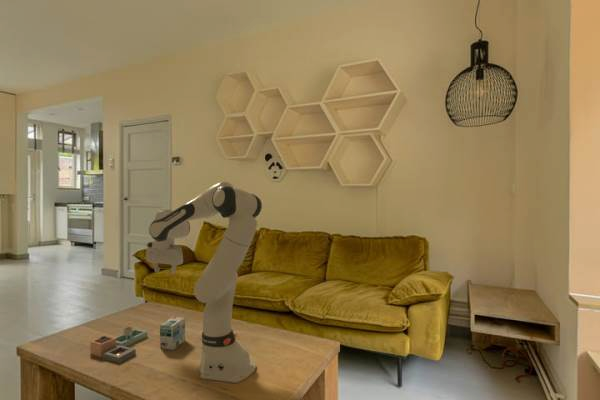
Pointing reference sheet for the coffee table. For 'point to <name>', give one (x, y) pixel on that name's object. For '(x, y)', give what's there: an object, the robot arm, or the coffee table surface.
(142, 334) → the trough
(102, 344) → the open cubby frame
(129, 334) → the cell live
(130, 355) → the gray square frame
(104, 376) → the coffee table surface
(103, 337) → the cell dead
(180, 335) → the light bulb box
